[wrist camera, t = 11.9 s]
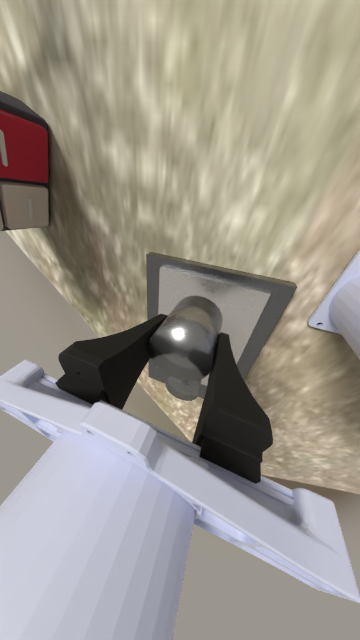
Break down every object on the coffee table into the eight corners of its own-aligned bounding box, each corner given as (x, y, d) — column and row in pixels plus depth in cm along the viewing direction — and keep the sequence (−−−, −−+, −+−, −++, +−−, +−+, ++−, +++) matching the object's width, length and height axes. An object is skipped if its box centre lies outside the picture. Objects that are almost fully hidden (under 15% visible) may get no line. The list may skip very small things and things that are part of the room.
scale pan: (270, 291, 16) (270, 294, 16) (223, 389, 27) (223, 392, 27) (161, 266, 19) (159, 268, 19) (158, 364, 30) (156, 367, 29)
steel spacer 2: (202, 352, 23) (193, 381, 20) (207, 373, 25) (200, 403, 22) (175, 351, 25) (161, 376, 21) (182, 370, 27) (170, 397, 23)
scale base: (294, 282, 16) (297, 288, 15) (228, 402, 31) (227, 409, 29) (151, 252, 20) (145, 255, 19) (151, 372, 34) (148, 378, 33)
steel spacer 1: (229, 304, 13) (220, 345, 9) (214, 344, 15) (202, 389, 11) (177, 289, 14) (148, 320, 10) (171, 329, 16) (147, 366, 12)
